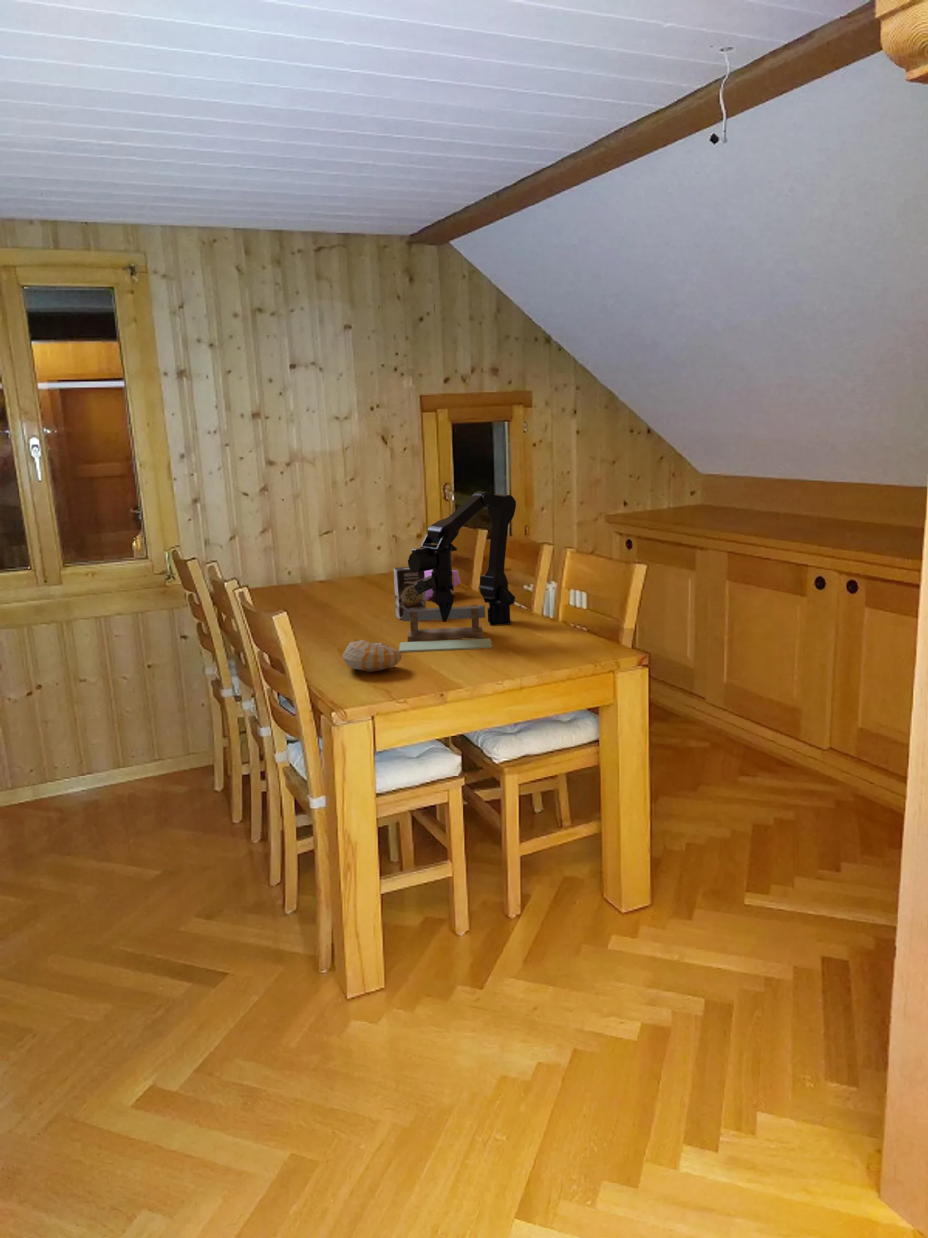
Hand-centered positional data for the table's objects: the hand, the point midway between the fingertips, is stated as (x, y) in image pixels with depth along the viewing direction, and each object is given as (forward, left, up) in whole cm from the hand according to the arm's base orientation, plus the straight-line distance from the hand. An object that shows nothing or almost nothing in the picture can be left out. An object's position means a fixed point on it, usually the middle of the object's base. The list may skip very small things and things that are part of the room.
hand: (444, 619), depth 275 cm
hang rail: (0, 0, 0) cm, 0 cm away
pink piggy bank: (+3, -56, -5) cm, 56 cm away
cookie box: (+11, -28, -5) cm, 31 cm away
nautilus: (+20, +29, -5) cm, 36 cm away
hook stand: (0, 0, -5) cm, 5 cm away
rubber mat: (0, +11, -5) cm, 12 cm away
